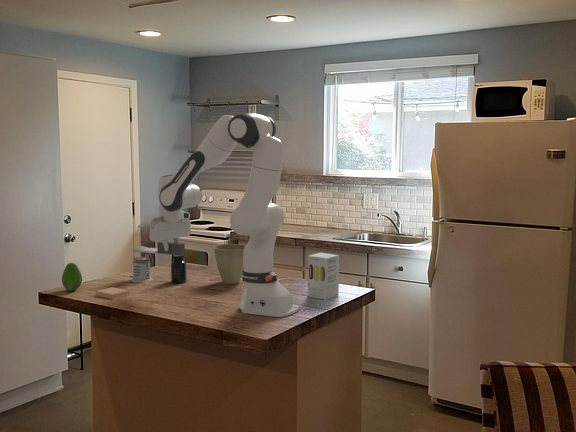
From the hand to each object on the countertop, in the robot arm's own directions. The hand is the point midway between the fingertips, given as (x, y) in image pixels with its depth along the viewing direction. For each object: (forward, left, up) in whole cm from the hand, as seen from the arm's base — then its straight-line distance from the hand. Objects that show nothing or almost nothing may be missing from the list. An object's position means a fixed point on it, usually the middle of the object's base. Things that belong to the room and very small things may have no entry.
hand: (171, 249), depth 238 cm
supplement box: (-52, -32, -19) cm, 64 cm away
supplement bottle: (+14, -19, -19) cm, 30 cm away
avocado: (+40, +17, -19) cm, 47 cm away
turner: (+4, 0, -2) cm, 4 cm away
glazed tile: (+15, +13, -18) cm, 27 cm away
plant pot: (-6, -31, -19) cm, 37 cm away
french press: (+30, -13, -19) cm, 38 cm away
